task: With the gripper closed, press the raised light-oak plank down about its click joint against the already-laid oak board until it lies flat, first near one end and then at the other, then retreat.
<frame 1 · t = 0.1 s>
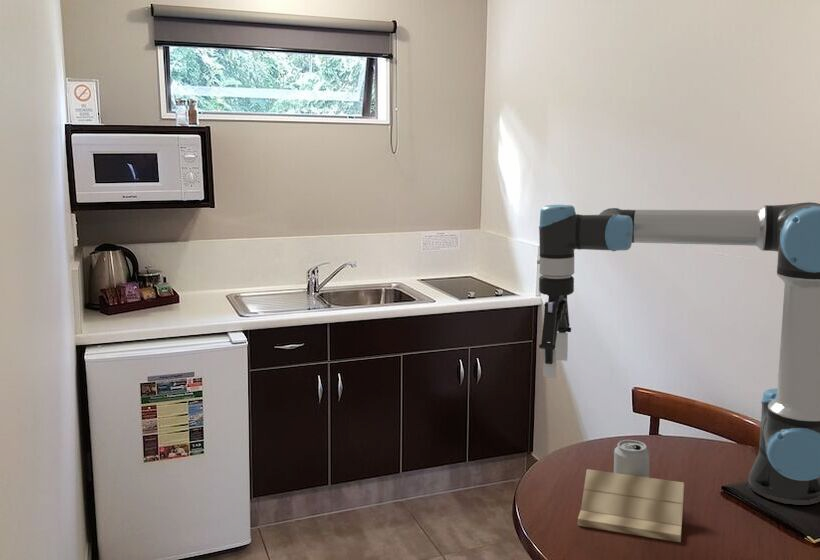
hand: (555, 368, 164), 28 cm above the table, fingers open, 13 cm apart
can: (630, 495, 163), on the table
laid board: (628, 528, 149), on the table
plank: (632, 497, 154), point 4 cm above the table, hinge at 38.0°
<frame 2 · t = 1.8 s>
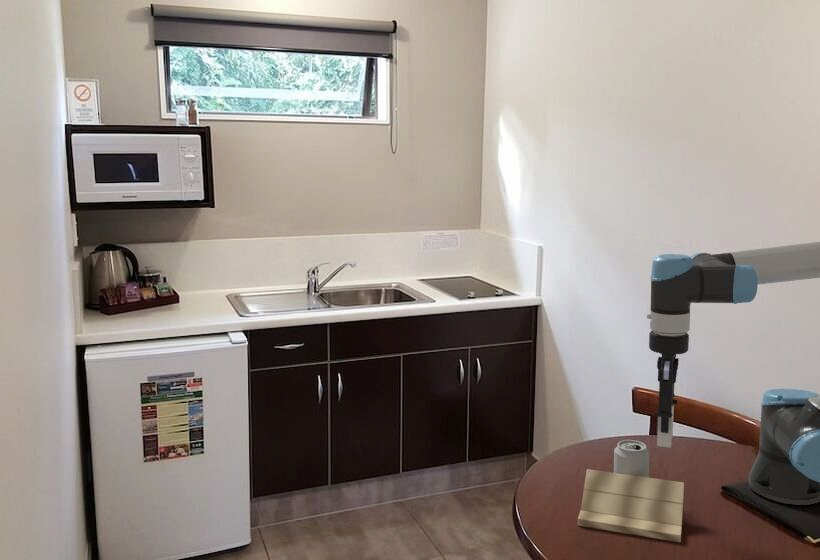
hand: (665, 439, 151), 17 cm above the table, fingers open, 6 cm apart
nothing on the table moved.
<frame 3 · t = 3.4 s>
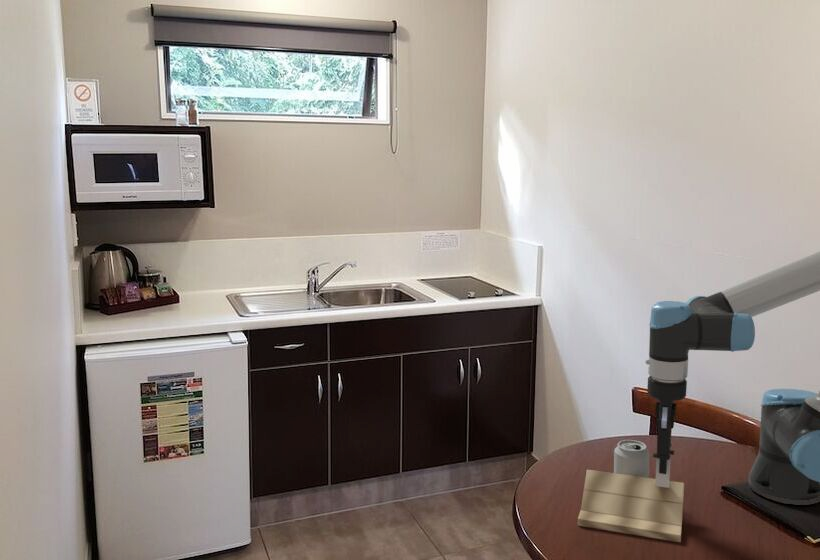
hand: (662, 485, 152), 7 cm above the table, fingers closed
plank: (632, 497, 154), point 4 cm above the table, hinge at 37.0°, touching gripper
everything else where it was.
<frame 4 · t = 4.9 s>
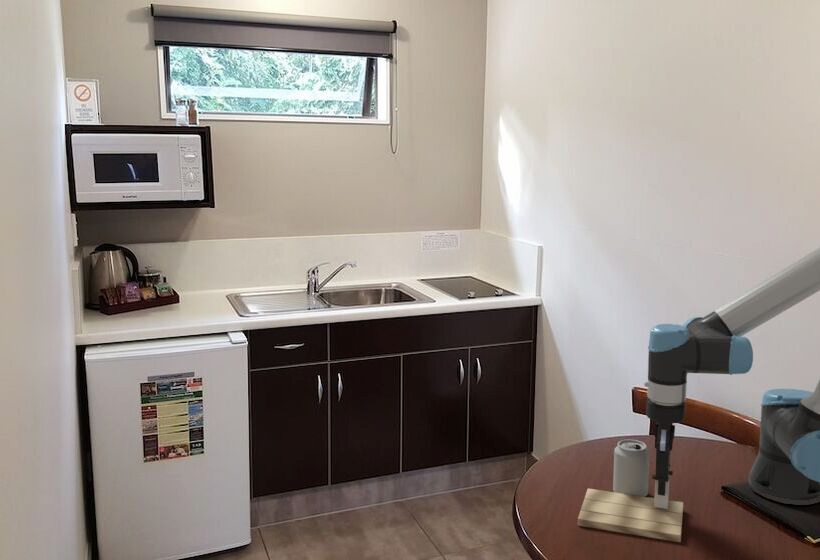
hand: (661, 505, 154), 2 cm above the table, fingers closed, pressing on plank
plank: (632, 509, 155), point 1 cm above the table, hinge at 2.1°, touching gripper
everything else where it was.
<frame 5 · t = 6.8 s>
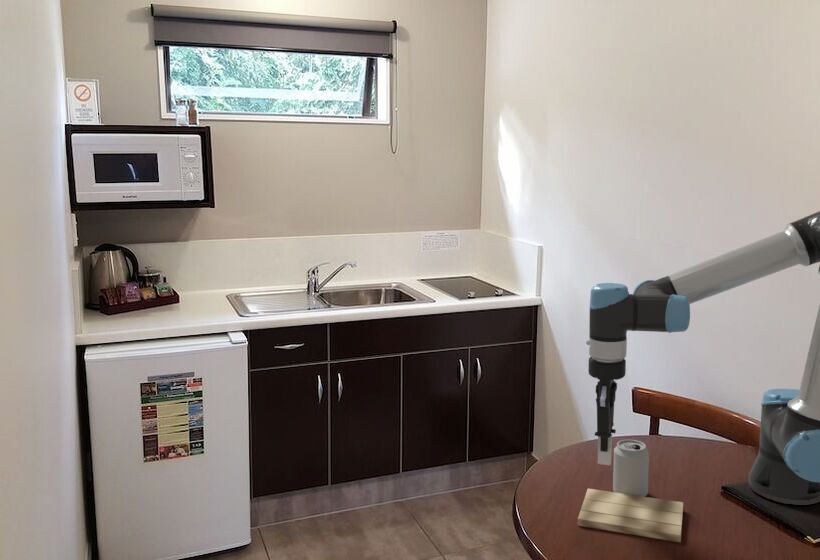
hand: (604, 463, 156), 10 cm above the table, fingers closed
plank: (632, 509, 155), point 1 cm above the table, hinge at 2.1°
everything else where it was.
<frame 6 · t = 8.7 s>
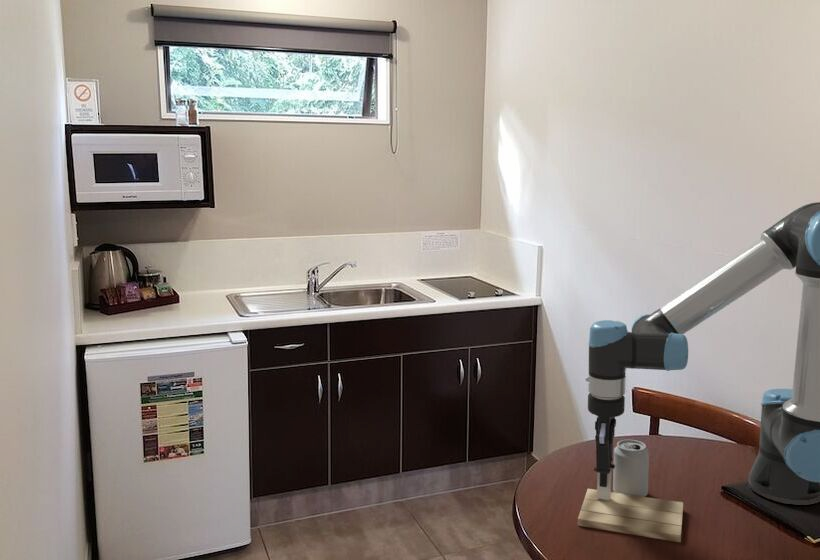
hand: (603, 497, 158), 2 cm above the table, fingers closed
plank: (632, 509, 155), point 1 cm above the table, hinge at 2.0°, touching gripper
everything else where it was.
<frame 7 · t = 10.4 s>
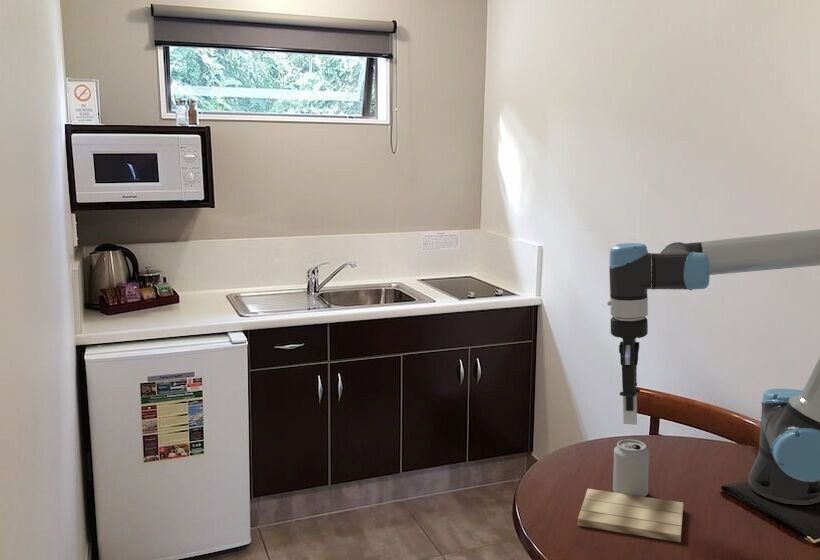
hand: (630, 422, 158), 18 cm above the table, fingers closed
plank: (632, 509, 155), point 1 cm above the table, hinge at 1.9°
everything else where it was.
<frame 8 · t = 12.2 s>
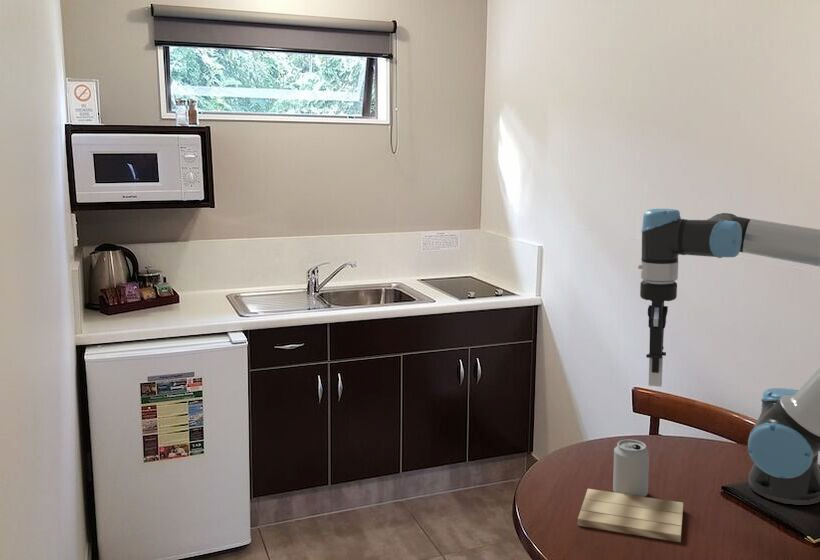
hand: (655, 384, 162), 24 cm above the table, fingers closed
nothing on the table moved.
at the end: plank at +2° (first picture: +38°); plank touching nothing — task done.
